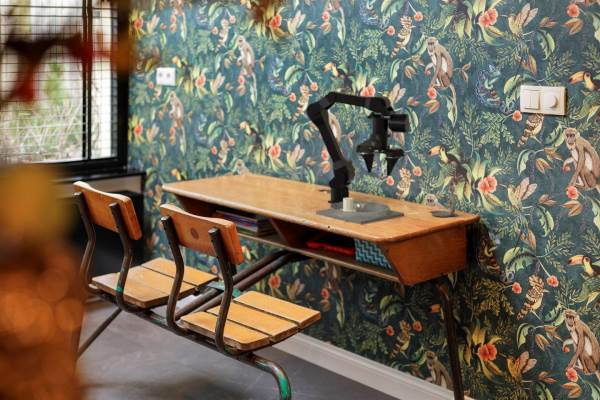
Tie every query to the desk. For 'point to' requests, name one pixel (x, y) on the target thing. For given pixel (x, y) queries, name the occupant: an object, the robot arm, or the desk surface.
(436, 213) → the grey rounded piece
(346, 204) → the gear
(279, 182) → the desk surface
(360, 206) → the sun gear
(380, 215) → the grey flat ring
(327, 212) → the tray
